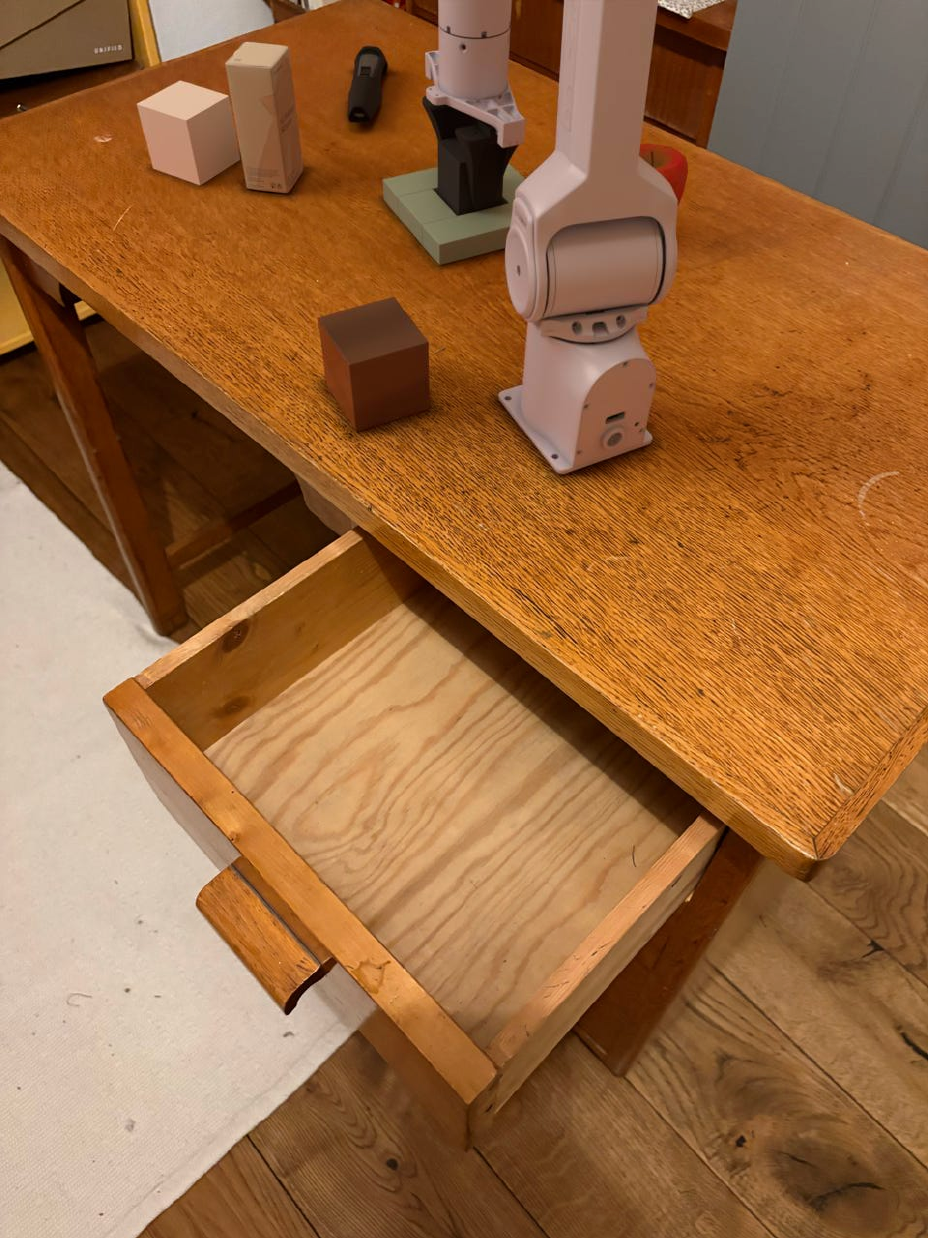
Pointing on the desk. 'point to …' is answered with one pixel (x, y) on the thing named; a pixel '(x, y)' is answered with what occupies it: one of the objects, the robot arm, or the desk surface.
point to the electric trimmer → (366, 84)
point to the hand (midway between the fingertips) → (470, 192)
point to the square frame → (450, 216)
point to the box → (265, 116)
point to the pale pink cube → (189, 132)
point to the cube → (375, 363)
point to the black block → (456, 178)
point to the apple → (667, 165)
